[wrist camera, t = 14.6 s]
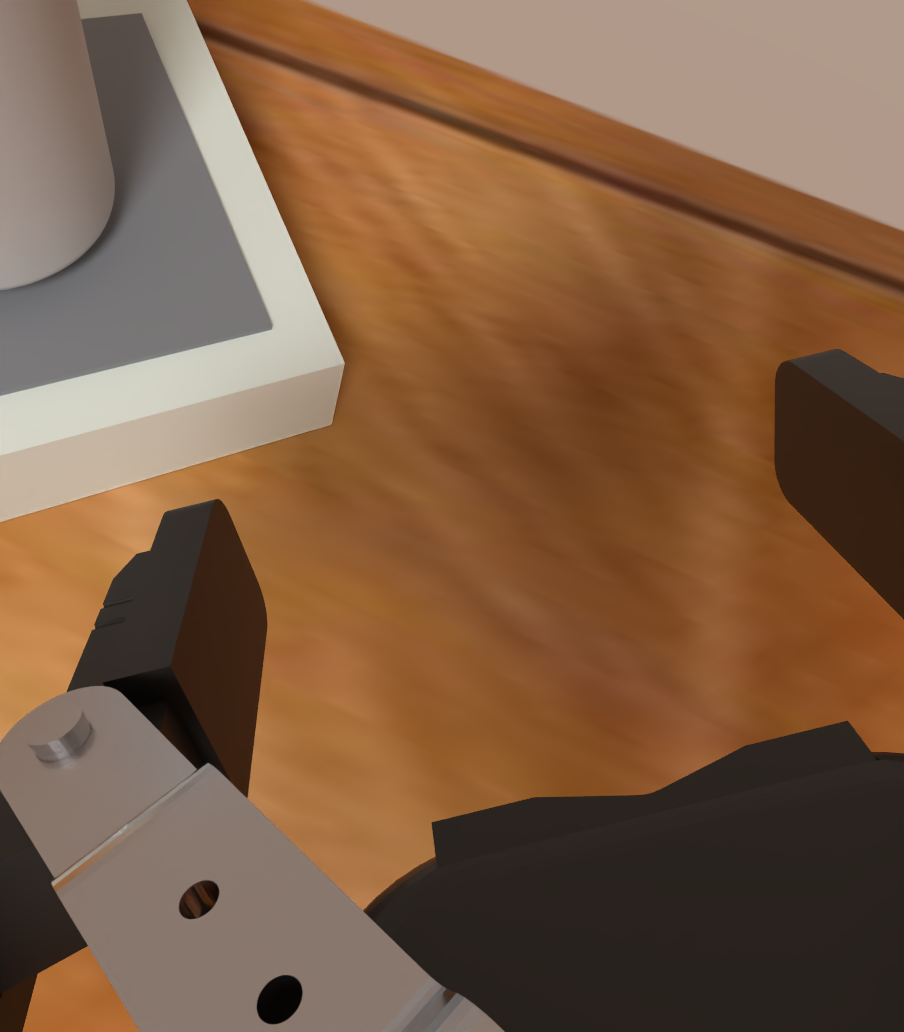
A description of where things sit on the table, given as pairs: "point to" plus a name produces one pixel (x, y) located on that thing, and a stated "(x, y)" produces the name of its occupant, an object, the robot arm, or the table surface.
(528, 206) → the table surface
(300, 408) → the plinth
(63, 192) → the beverage can
